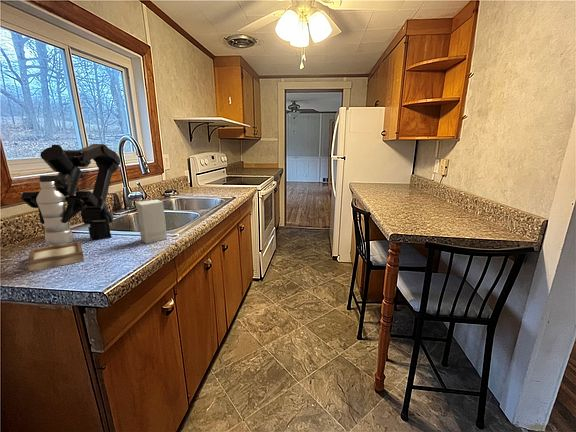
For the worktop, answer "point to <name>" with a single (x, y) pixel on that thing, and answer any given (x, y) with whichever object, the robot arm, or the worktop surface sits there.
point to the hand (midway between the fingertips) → (53, 222)
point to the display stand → (55, 256)
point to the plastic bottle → (53, 214)
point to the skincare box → (151, 221)
